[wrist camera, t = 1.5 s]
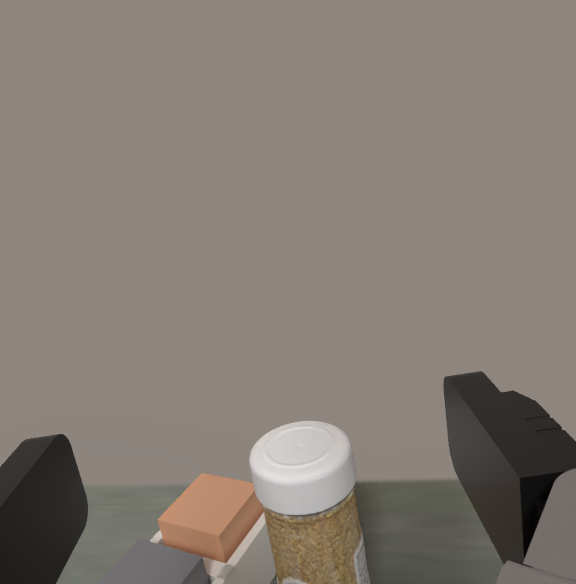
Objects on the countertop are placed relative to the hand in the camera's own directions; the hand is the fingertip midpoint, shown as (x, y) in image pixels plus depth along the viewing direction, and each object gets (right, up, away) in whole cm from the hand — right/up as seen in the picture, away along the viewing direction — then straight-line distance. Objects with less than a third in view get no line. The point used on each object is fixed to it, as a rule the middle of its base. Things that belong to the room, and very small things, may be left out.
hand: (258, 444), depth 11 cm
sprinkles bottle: (+3, -16, +16) cm, 23 cm away
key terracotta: (-4, -12, +23) cm, 26 cm away
